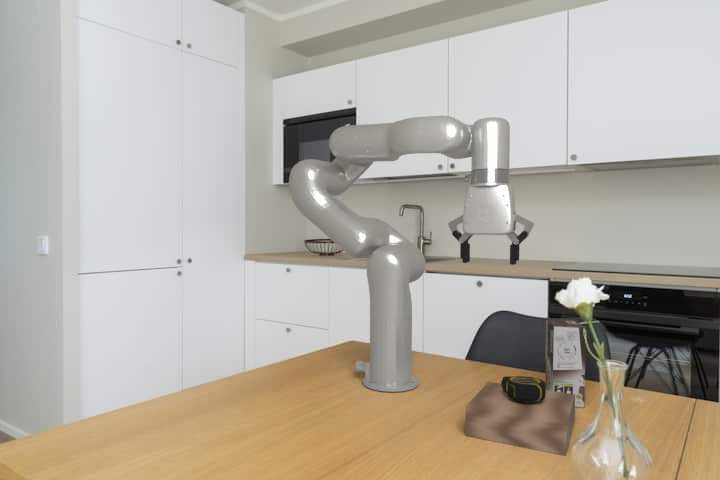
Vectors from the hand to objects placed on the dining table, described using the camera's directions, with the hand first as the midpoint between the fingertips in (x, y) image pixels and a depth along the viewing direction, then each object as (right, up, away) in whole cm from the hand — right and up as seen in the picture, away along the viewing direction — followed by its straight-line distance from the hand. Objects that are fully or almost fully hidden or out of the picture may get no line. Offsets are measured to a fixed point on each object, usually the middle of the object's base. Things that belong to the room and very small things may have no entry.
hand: (489, 263), depth 104 cm
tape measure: (+3, -24, -13) cm, 27 cm away
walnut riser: (+2, -29, -14) cm, 32 cm away
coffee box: (+16, -29, +1) cm, 33 cm away
